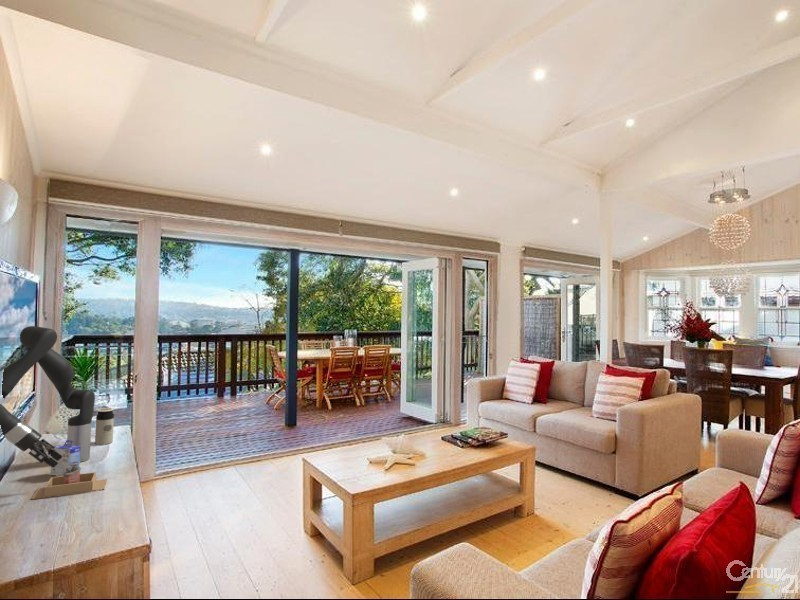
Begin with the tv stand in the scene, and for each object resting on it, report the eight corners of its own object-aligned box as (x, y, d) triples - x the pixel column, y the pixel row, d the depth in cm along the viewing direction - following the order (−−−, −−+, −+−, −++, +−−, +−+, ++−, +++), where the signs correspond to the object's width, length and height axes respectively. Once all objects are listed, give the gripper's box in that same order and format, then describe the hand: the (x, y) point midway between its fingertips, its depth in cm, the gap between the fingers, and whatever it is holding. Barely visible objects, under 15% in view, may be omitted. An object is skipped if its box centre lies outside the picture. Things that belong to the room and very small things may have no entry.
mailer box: (40, 485, 181) (41, 475, 182) (108, 476, 192) (108, 467, 193) (31, 499, 168) (31, 489, 168) (104, 489, 179) (104, 479, 179)
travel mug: (93, 442, 239) (95, 408, 239) (111, 440, 244) (112, 407, 245) (96, 446, 233) (98, 411, 233) (114, 443, 238) (115, 409, 239)
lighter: (73, 485, 182) (74, 461, 183) (82, 485, 183) (83, 461, 183) (60, 493, 174) (61, 467, 175) (69, 493, 175) (70, 467, 175)
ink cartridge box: (80, 473, 195) (81, 440, 195) (68, 478, 190) (70, 444, 190) (61, 471, 197) (63, 438, 197) (49, 475, 192) (51, 442, 192)
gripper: (27, 433, 166) (63, 460, 172) (36, 424, 179) (70, 449, 184) (8, 449, 164) (45, 475, 169) (18, 438, 176) (53, 464, 181)
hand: (58, 462), depth 177 cm, fingers open, 8 cm apart
